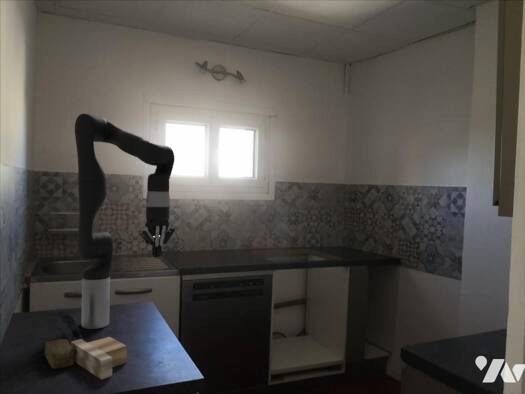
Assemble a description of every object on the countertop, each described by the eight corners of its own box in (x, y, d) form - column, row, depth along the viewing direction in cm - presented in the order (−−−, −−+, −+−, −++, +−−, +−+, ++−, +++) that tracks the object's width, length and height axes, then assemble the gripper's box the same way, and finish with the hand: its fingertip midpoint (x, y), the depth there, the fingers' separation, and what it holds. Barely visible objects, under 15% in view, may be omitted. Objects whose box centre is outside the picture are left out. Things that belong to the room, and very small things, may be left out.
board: (70, 358, 118) (70, 341, 117) (80, 355, 120) (81, 339, 120) (101, 379, 106) (101, 360, 106) (112, 375, 108) (112, 357, 108)
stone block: (52, 371, 110) (52, 353, 110) (43, 357, 119) (44, 340, 119) (75, 366, 113) (75, 348, 113) (65, 352, 122) (65, 336, 122)
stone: (93, 345, 128) (93, 313, 128) (77, 351, 123) (78, 319, 122) (62, 337, 134) (62, 307, 133) (45, 343, 128) (46, 312, 128)
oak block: (86, 360, 118) (86, 342, 118) (109, 353, 123) (109, 336, 123) (103, 371, 111) (103, 353, 111) (126, 363, 116) (126, 345, 116)
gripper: (167, 204, 142) (166, 253, 142) (133, 204, 132) (132, 258, 132) (181, 205, 137) (179, 256, 137) (147, 206, 127) (145, 261, 127)
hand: (156, 257), depth 135 cm, fingers closed
